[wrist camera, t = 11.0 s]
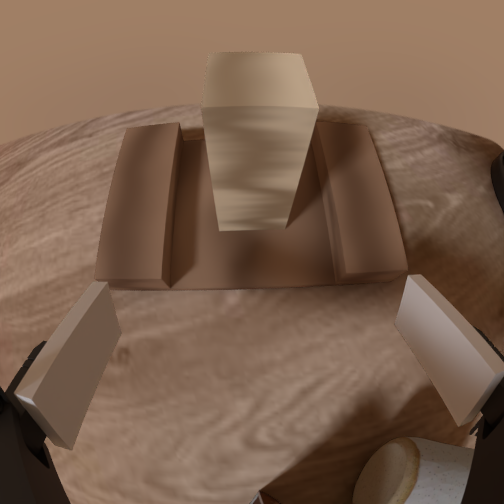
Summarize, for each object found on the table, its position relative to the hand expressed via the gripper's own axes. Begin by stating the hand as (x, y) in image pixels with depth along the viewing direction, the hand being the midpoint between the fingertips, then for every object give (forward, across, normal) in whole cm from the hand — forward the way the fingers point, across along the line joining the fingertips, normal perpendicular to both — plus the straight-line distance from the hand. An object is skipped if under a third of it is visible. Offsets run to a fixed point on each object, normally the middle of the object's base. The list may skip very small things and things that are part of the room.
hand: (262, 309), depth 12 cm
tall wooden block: (+13, 0, +1) cm, 13 cm away
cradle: (+13, 0, +1) cm, 13 cm away
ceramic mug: (-4, +10, -17) cm, 20 cm away
